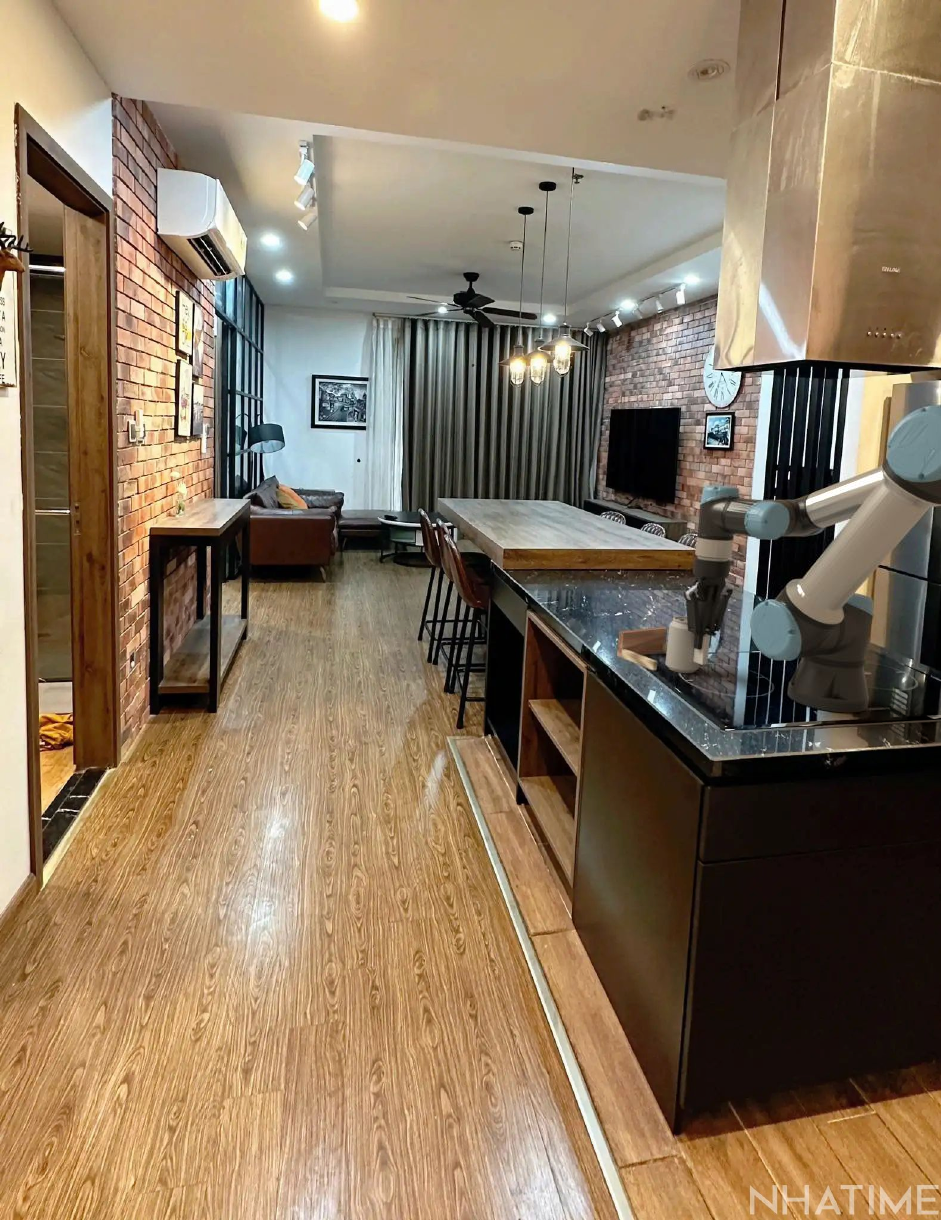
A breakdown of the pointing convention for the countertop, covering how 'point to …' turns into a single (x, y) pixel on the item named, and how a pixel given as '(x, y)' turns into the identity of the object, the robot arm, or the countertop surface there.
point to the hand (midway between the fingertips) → (700, 662)
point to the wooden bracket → (642, 645)
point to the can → (680, 647)
